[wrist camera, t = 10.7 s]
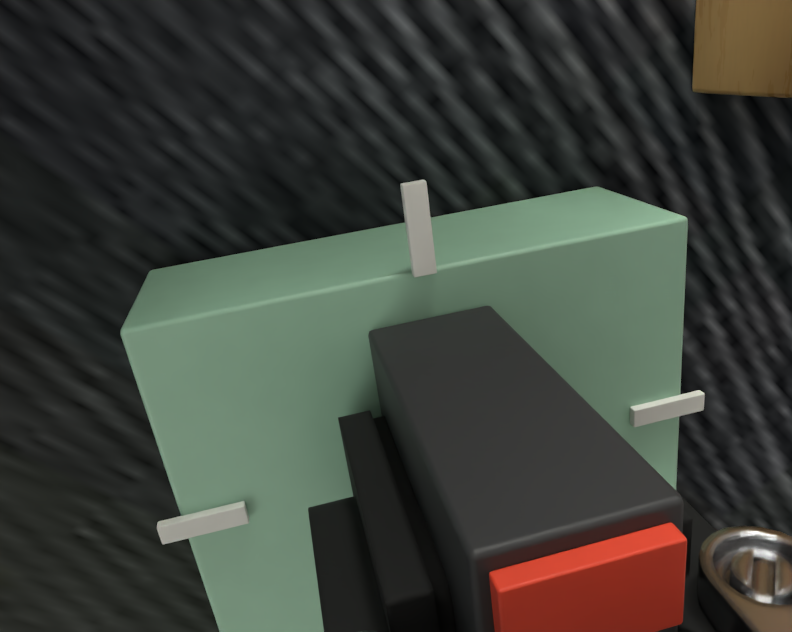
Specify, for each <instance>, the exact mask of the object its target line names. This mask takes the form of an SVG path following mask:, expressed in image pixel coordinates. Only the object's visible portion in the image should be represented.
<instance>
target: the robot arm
mask: <svg viewBox="0 0 792 632" xmlns="http://www.w3.org/2000/svg"><path fill="white" fill-rule="evenodd" d="M338 421H339V426H340V431H341V436H342V441H343V446H344V451H345V456H346V461H347V466H348V471H349V476H350V482H351V487H352V492H353V497H349V498H345V499H341V500H337V501H333V502H329V503H325V504H321V505H317V506H313V507H309V508H308V513H309V522H310V529H311V537H312V544H313V552H314V559H315V567H316V575H317V582H318V590H319V597H320V605H321V612H322V620H323V628H324V632H456V626H455V619H454V611H453V604H452V599H451V594H450V590H449V586H448V582H447V578H446V575H445V572H444V569H443V566H442V563H441V561H440V558H439V556H438V553H437V550H436V548H435V545H434V543H433V540H432V537H431V535H430V532H429V530H428V527H427V524H426V522H425V519H424V517H423V514H422V512H421V509H420V506H419V504H418V501H417V499H416V496H415V493H414V491H413V488H412V486H411V483H410V480H409V478H408V475H407V473H406V470H405V467H404V465H403V462H402V460H401V457H400V455H399V452H398V449H397V447H396V444H395V442H394V439H393V436H392V434H391V431H390V429H389V426H388V423H387V421H386V418H385V416H381V417H377V418H373V417H372V414H371V411H370V410H369V411H365V412H360V413H356V414H351V415H347V416H343V417H338ZM681 497H682V496H681ZM682 499H683V502H684V513H683V533H682V534H683V535H684V536H685V537H686V539H687V555H686V573H685V592H684V610H683V623H682V624H680V625H678V632H792V537H790V536H788V535H786V534H784V533H782V532H778V531H774V530H770V529H766V528H763V527H752V526H736V527H729V528H724V529H722V530H719V531H716V530H715V529H714V528H713V527H712V526H711V525H710V524H709V523H708V522H707V521H706V520H705V519H704V518H703V517H702V516H701V515H700V514H699V513H698V512H697V511H696V510H695V509H694V508H693V507H692V506H691V505H690V504H689V503H688V502H687V501H686V500H685V499H684V498H683V497H682Z"/></svg>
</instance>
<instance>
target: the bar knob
mask: <svg viewBox="0 0 792 632" xmlns="http://www.w3.org/2000/svg"><path fill="white" fill-rule="evenodd" d="M368 337H369V343H370V349H371V355H372V361H373V367H374V373H375V379H376V385H377V391H378V397H379V403H380V409H381V414H382V416H385V418H386V421H387V423H388V426H389V429H390V431H391V434H392V436H393V439H394V442H395V444H396V447H397V449H398V452H399V455H400V457H401V460H402V462H403V465H404V467H405V470H406V473H407V475H408V478H409V480H410V483H411V486H412V488H413V491H414V493H415V496H416V499H417V501H418V504H419V506H420V509H421V512H422V514H423V517H424V519H425V522H426V524H427V527H428V530H429V532H430V535H431V537H432V540H433V543H434V545H435V548H436V550H437V553H438V556H439V558H440V561H441V563H442V566H443V569H444V572H445V575H446V578H447V582H448V586H449V590H450V594H451V599H452V604H453V611H454V619H455V626H456V632H678V625H680V624H682V623H683V610H684V592H685V573H686V555H687V539H686V537H685V536H684V535H683V534H682V533H683V513H684V502H683V499H682V497H681V495H680V494H679V493H678V492H677V491H676V490H675V489H674V488H673V487H672V486H671V485H670V484H669V483H668V482H667V481H666V480H665V479H664V478H663V477H662V476H661V475H660V474H659V473H658V472H657V471H656V470H655V469H654V468H653V467H652V466H651V465H650V464H649V463H648V462H647V461H646V460H645V459H644V458H643V457H642V456H641V455H640V454H639V453H638V452H637V451H636V450H635V449H634V448H633V447H632V446H631V445H630V444H629V443H628V442H627V441H626V440H625V439H624V438H623V437H622V436H621V435H620V434H619V433H618V432H617V431H616V430H615V429H614V428H613V427H612V426H611V425H610V424H609V423H608V422H607V421H606V420H605V419H604V418H603V417H602V416H601V415H600V414H599V413H598V412H597V411H596V410H595V409H593V408H592V407H591V406H590V405H589V404H588V403H587V402H586V401H585V400H584V399H583V398H582V397H581V396H580V395H579V394H578V393H577V392H576V391H575V390H574V389H573V388H572V387H571V386H570V385H569V384H568V383H567V382H566V381H565V380H564V379H563V378H562V377H561V376H560V375H559V374H558V373H557V372H556V371H555V370H554V369H553V368H552V367H551V366H550V365H549V364H548V363H547V362H546V361H545V360H544V359H543V358H542V357H541V356H540V355H539V354H538V353H537V352H536V351H535V350H534V349H533V348H532V347H531V346H530V345H529V344H528V343H527V342H526V341H525V340H524V339H523V338H522V337H521V336H520V335H519V334H518V333H517V332H516V331H515V330H514V329H513V328H512V327H511V326H510V325H509V324H508V323H507V322H506V321H505V320H504V319H503V318H502V317H501V316H500V315H499V314H498V313H497V312H496V311H495V310H494V309H493V308H492V307H491V306H483V307H478V308H473V309H469V310H464V311H459V312H454V313H450V314H445V315H440V316H435V317H431V318H426V319H421V320H417V321H412V322H407V323H402V324H398V325H393V326H388V327H383V328H379V329H374V330H371V331H369V335H368Z"/></svg>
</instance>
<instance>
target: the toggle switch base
mask: <svg viewBox="0 0 792 632" xmlns="http://www.w3.org/2000/svg"><path fill="white" fill-rule="evenodd" d="M400 187H401V195H402V202H403V210H404V217H405V222H404V223H399V224H394V225H388V226H383V227H378V228H372V229H367V230H362V231H357V232H351V233H346V234H341V235H335V236H330V237H325V238H319V239H314V240H309V241H303V242H298V243H293V244H287V245H282V246H277V247H271V248H266V249H261V250H255V251H250V252H245V253H239V254H234V255H229V256H223V257H218V258H213V259H207V260H202V261H197V262H192V263H186V264H181V265H176V266H170V267H165V268H160V269H154V270H151V271H150V272H149V273H148V275H147V277H146V279H145V281H144V283H143V285H142V287H141V289H140V291H139V293H138V295H137V298H136V300H135V302H134V304H133V306H132V308H131V310H130V312H129V314H128V316H127V318H126V320H125V322H124V324H123V326H122V328H121V331H120V335H121V338H122V341H123V344H124V347H125V350H126V353H127V356H128V359H129V362H130V365H131V368H132V371H133V374H134V377H135V380H136V383H137V386H138V389H139V392H140V394H141V397H142V400H143V403H144V406H145V409H146V412H147V415H148V418H149V421H150V424H151V427H152V430H153V433H154V436H155V439H156V442H157V445H158V448H159V451H160V454H161V457H162V460H163V463H164V466H165V469H166V472H167V475H168V478H169V481H170V484H171V487H172V490H173V493H174V496H175V499H176V502H177V505H178V508H179V511H180V514H181V516H179V517H175V518H171V519H167V520H163V521H159V522H158V523H157V531H158V534H159V536H160V539H161V542H162V544H167V543H171V542H176V541H180V540H184V539H188V538H189V541H190V544H191V547H192V550H193V553H194V556H195V559H196V562H197V565H198V568H199V571H200V574H201V577H202V580H203V583H204V586H205V589H206V592H207V595H208V598H209V601H210V604H211V607H212V610H213V613H214V616H215V619H216V622H217V625H218V628H219V631H220V632H324V628H323V620H322V612H321V605H320V597H319V590H318V582H317V575H316V567H315V559H314V552H313V544H312V537H311V529H310V522H309V513H308V508H309V507H313V506H317V505H321V504H325V503H329V502H333V501H337V500H341V499H345V498H349V497H353V492H352V487H351V482H350V476H349V471H348V466H347V461H346V456H345V451H344V446H343V441H342V436H341V431H340V426H339V421H338V417H343V416H347V415H351V414H356V413H360V412H365V411H369V410H370V411H371V414H372V417H373V418H377V417H381V416H382V414H381V409H380V403H379V397H378V391H377V385H376V379H375V373H374V367H373V361H372V355H371V349H370V343H369V337H368V335H369V331H371V330H374V329H379V328H383V327H388V326H393V325H398V324H402V323H407V322H412V321H417V320H421V319H426V318H431V317H435V316H440V315H445V314H450V313H454V312H459V311H464V310H469V309H473V308H478V307H483V306H491V307H492V308H493V309H494V310H495V311H496V312H497V313H498V314H499V315H500V316H501V317H502V318H503V319H504V320H505V321H506V322H507V323H508V324H509V325H510V326H511V327H512V328H513V329H514V330H515V331H516V332H517V333H518V334H519V335H520V336H521V337H522V338H523V339H524V340H525V341H526V342H527V343H528V344H529V345H530V346H531V347H532V348H533V349H534V350H535V351H536V352H537V353H538V354H539V355H540V356H541V357H542V358H543V359H544V360H545V361H546V362H547V363H548V364H549V365H550V366H551V367H552V368H553V369H554V370H555V371H556V372H557V373H558V374H559V375H560V376H561V377H562V378H563V379H564V380H565V381H566V382H567V383H568V384H569V385H570V386H571V387H572V388H573V389H574V390H575V391H576V392H577V393H578V394H579V395H580V396H581V397H582V398H583V399H584V400H585V401H586V402H587V403H588V404H589V405H590V406H591V407H592V408H593V409H595V410H596V411H597V412H598V413H599V414H600V415H601V416H602V417H603V418H604V419H605V420H606V421H607V422H608V423H609V424H610V425H611V426H612V427H613V428H614V429H615V430H616V431H617V432H618V433H619V434H620V435H621V436H622V437H623V438H624V439H625V440H626V441H627V442H628V443H629V444H630V445H631V446H632V447H633V448H634V449H635V450H636V451H637V452H638V453H639V454H640V455H641V456H642V457H643V458H644V459H645V460H646V461H647V462H648V463H649V464H650V465H651V466H652V467H653V468H654V469H655V470H656V471H657V472H658V473H659V474H660V475H661V476H662V477H663V478H664V479H665V480H666V481H667V482H668V483H669V484H670V485H671V486H672V487H673V488H674V489H675V490H676V480H677V457H678V435H679V416H682V415H687V414H691V413H695V412H699V411H703V410H704V399H705V394H704V393H703V392H702V391H700V390H697V391H693V392H689V393H685V394H681V395H680V389H681V367H682V344H683V322H684V299H685V276H686V254H687V231H688V220H687V218H686V217H685V216H682V215H679V214H676V213H673V212H670V211H667V210H665V209H662V208H659V207H656V206H653V205H650V204H647V203H644V202H641V201H638V200H635V199H633V198H630V197H627V196H624V195H621V194H618V193H615V192H612V191H609V190H606V189H603V188H600V187H597V186H596V187H591V188H585V189H580V190H575V191H569V192H564V193H559V194H553V195H548V196H543V197H537V198H532V199H527V200H522V201H516V202H511V203H506V204H500V205H495V206H490V207H484V208H479V209H474V210H468V211H463V212H458V213H452V214H447V215H442V216H436V217H431V216H430V208H429V199H428V191H427V182H426V181H425V180H418V181H412V182H407V183H401V184H400Z"/></svg>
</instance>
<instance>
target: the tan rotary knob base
mask: <svg viewBox="0 0 792 632" xmlns="http://www.w3.org/2000/svg"><path fill="white" fill-rule="evenodd" d="M692 89H693V91H694V92H696V93H709V94H726V95H744V96H761V97H778V98H792V0H696V10H695V33H694V56H693V79H692Z"/></svg>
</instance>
